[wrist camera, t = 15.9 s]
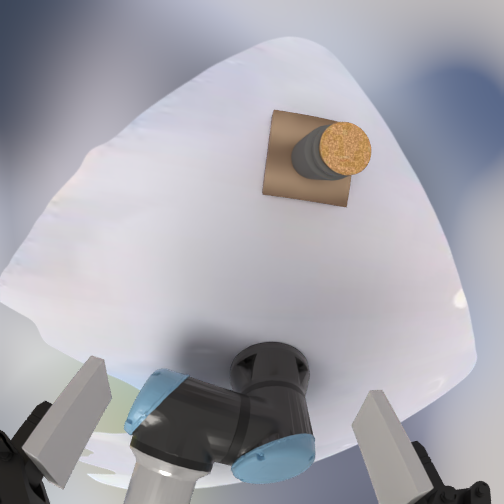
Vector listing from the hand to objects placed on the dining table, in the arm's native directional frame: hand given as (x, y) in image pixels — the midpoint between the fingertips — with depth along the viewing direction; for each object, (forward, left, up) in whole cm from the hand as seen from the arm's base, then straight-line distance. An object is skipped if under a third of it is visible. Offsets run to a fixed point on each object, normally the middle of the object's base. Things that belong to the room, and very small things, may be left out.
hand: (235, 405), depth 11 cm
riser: (+14, -7, -33) cm, 36 cm away
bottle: (+14, -7, -29) cm, 33 cm away
